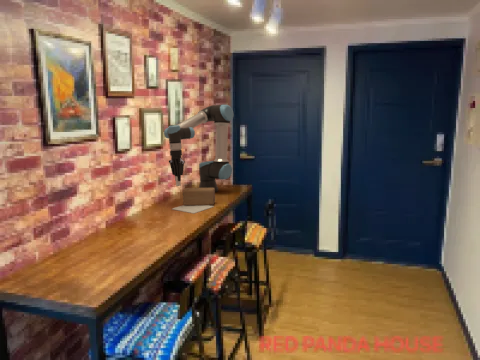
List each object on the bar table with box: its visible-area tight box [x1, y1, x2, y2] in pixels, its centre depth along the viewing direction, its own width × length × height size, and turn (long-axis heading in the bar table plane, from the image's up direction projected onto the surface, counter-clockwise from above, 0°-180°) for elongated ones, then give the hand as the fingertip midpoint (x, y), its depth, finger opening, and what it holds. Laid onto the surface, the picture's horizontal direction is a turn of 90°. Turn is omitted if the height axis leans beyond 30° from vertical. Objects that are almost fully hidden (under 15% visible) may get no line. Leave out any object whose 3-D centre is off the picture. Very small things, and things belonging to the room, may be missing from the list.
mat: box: [171, 204, 215, 215], centre depth 236 cm, size 18×20×1 cm
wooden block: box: [182, 187, 216, 206], centre depth 244 cm, size 10×10×20 cm
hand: (178, 185), depth 241 cm, fingers closed
